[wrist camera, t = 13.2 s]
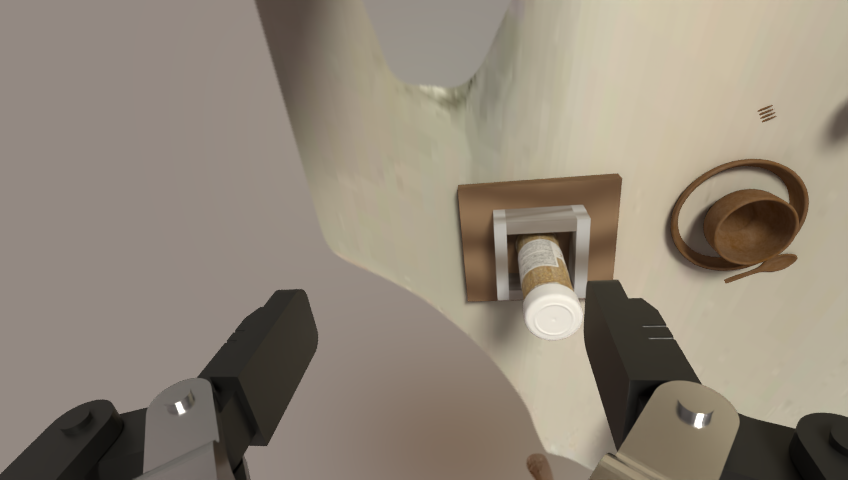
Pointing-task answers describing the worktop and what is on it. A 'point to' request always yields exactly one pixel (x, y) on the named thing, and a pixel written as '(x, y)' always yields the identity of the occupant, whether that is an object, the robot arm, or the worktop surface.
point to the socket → (538, 230)
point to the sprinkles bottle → (546, 287)
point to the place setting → (748, 222)
